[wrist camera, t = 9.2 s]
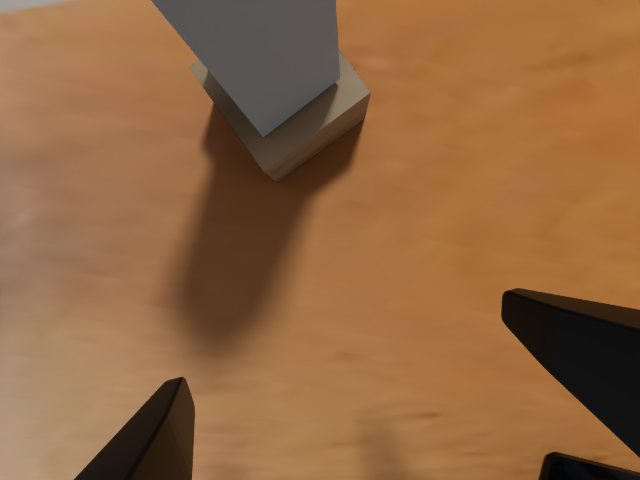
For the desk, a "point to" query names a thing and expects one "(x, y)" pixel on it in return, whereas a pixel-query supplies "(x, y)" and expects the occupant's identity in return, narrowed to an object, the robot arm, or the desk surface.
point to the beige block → (295, 121)
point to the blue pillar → (262, 51)
